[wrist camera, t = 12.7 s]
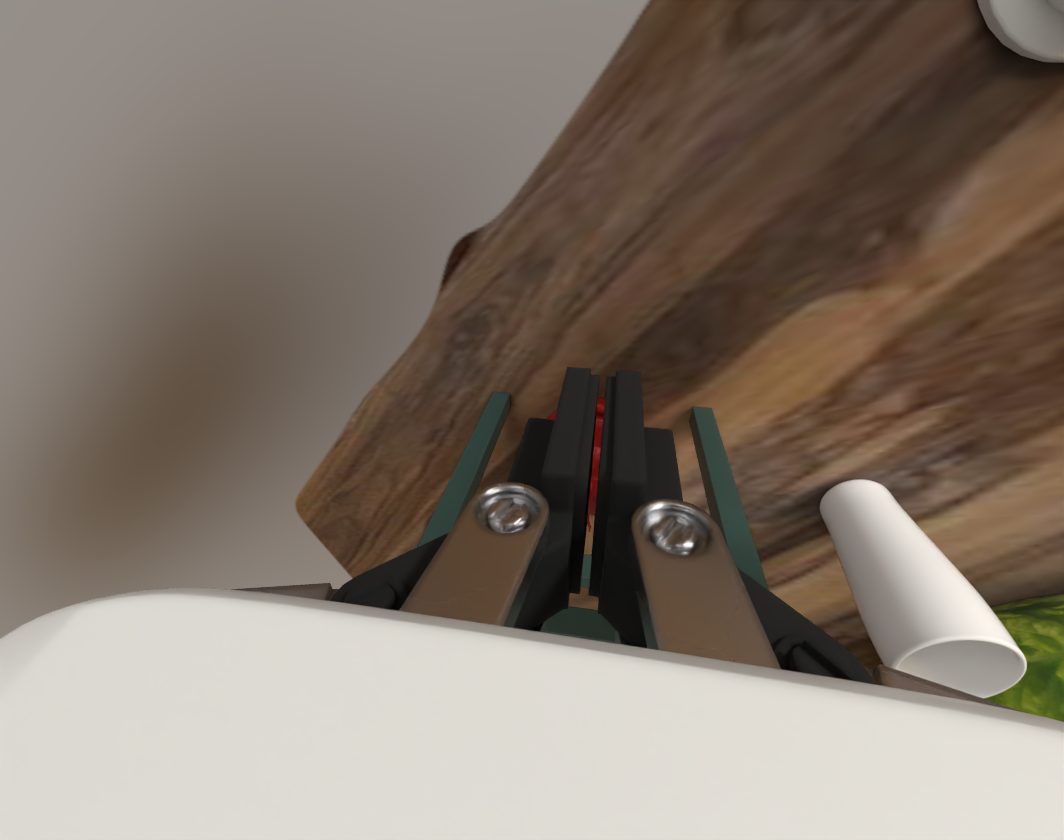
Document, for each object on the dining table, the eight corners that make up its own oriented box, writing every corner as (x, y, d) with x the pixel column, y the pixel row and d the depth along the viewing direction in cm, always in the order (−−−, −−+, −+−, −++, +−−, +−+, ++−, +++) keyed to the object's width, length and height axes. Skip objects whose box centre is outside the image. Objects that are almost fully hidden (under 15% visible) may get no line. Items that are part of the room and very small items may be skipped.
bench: (492, 391, 40) (386, 608, 22) (711, 407, 37) (794, 668, 19) (502, 553, 50) (435, 789, 33) (673, 575, 48) (703, 843, 30)
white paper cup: (806, 531, 42) (883, 702, 30) (809, 473, 39) (897, 637, 26) (893, 527, 40) (1013, 706, 28) (903, 464, 37) (1046, 636, 25)
